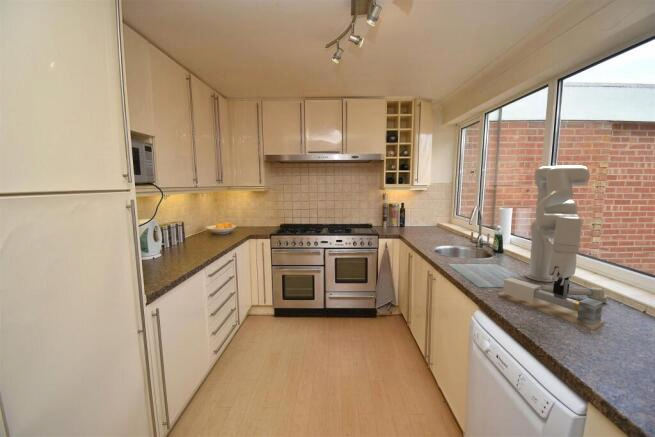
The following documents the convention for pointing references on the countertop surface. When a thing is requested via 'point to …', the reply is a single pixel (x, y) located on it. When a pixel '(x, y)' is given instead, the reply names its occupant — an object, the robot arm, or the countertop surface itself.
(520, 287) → the sleeve
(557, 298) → the grey l-shaped piece
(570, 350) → the countertop surface
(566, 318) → the stand
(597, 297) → the electric toothbrush handle
